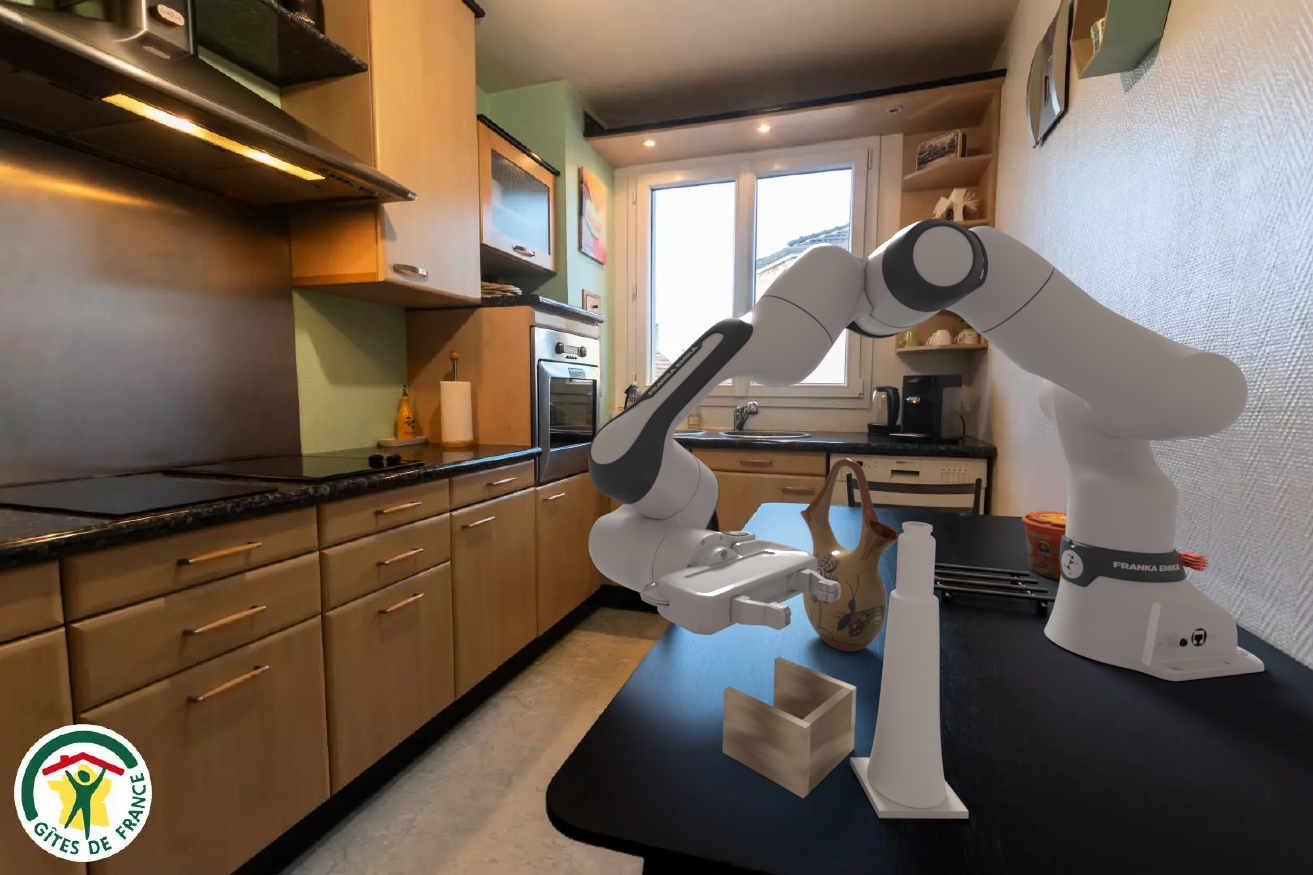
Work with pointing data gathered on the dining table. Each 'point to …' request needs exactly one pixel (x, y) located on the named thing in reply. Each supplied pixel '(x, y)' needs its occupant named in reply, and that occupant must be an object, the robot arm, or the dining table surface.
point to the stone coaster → (894, 810)
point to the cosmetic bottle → (910, 682)
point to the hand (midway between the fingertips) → (813, 605)
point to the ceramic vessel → (848, 570)
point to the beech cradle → (792, 727)
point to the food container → (1044, 542)
